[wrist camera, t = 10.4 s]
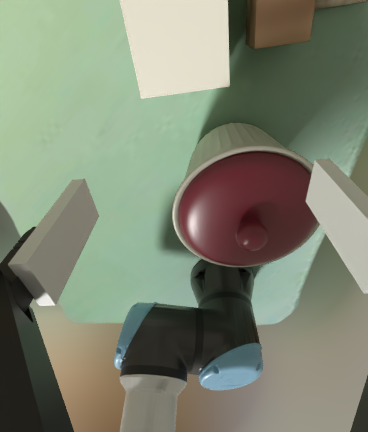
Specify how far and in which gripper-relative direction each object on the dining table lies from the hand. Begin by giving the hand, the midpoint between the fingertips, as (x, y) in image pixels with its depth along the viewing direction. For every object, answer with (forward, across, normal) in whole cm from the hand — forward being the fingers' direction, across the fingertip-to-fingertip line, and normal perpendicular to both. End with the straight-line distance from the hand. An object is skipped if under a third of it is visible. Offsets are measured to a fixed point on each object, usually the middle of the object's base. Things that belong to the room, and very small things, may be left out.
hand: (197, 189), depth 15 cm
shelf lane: (+28, +1, -8) cm, 29 cm away
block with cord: (+28, -17, -8) cm, 34 cm away
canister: (+28, -5, +11) cm, 31 cm away
